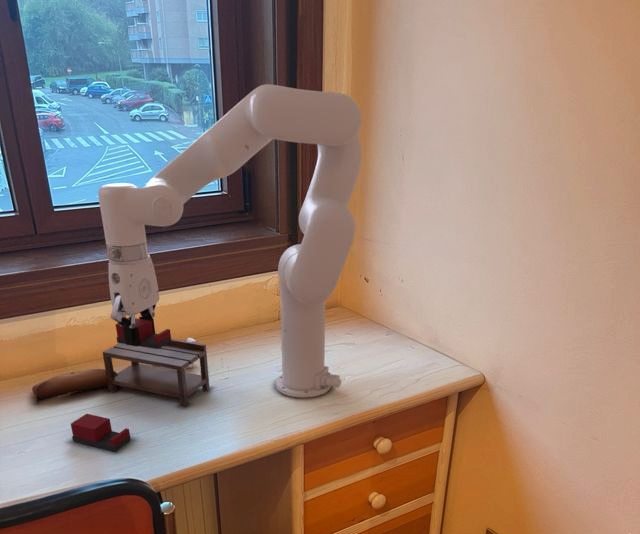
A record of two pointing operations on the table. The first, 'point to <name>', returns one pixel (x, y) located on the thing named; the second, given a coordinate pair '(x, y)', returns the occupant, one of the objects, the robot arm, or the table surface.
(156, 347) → the right slipper
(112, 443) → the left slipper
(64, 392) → the sunglasses case
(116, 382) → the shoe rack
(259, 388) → the table surface
